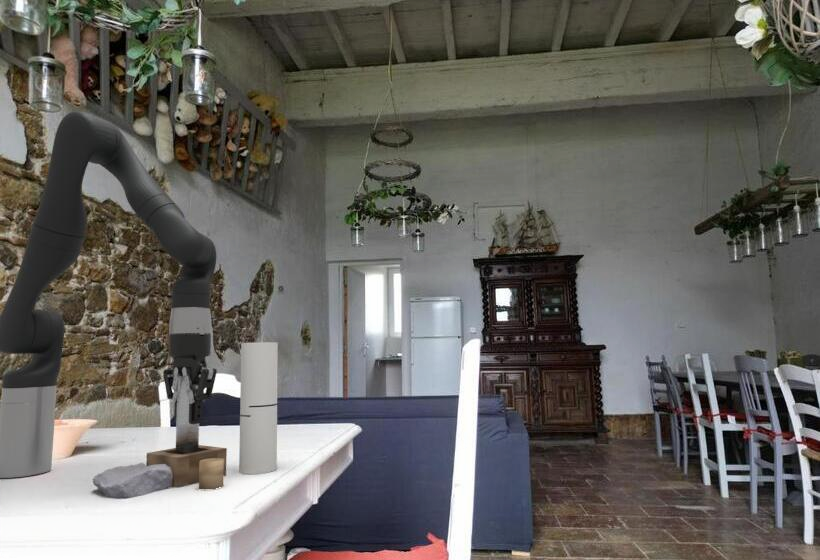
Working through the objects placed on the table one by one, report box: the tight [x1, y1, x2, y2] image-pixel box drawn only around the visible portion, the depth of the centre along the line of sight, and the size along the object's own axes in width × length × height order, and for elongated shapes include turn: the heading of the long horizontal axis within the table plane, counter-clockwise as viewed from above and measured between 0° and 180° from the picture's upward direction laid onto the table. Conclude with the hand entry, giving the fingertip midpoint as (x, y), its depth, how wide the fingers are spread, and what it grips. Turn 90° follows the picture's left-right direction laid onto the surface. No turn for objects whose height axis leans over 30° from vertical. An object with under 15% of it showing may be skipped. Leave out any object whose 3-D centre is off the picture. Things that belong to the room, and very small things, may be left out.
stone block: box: [92, 462, 173, 499], centre depth 92 cm, size 12×5×10 cm
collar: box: [145, 444, 228, 488], centre depth 99 cm, size 10×10×5 cm
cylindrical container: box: [238, 341, 279, 475], centre depth 106 cm, size 7×7×25 cm
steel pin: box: [175, 376, 200, 455], centre depth 100 cm, size 4×4×15 cm
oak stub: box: [198, 458, 225, 490], centre depth 92 cm, size 4×4×4 cm
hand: (187, 422), depth 100 cm, fingers closed on steel pin, 4 cm apart
